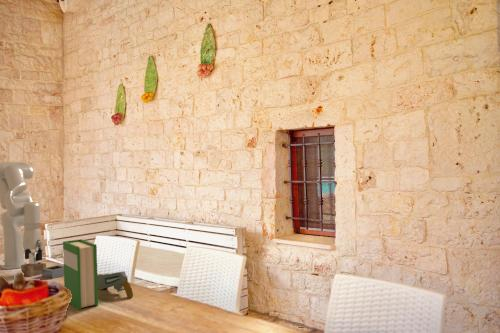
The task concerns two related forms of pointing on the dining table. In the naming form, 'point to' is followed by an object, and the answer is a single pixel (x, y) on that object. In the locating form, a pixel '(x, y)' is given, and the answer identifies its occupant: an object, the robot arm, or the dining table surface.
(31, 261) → the axle
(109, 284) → the gun
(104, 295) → the dining table surface
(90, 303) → the hardback book
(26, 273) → the bore block
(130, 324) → the dining table surface
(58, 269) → the seat block
